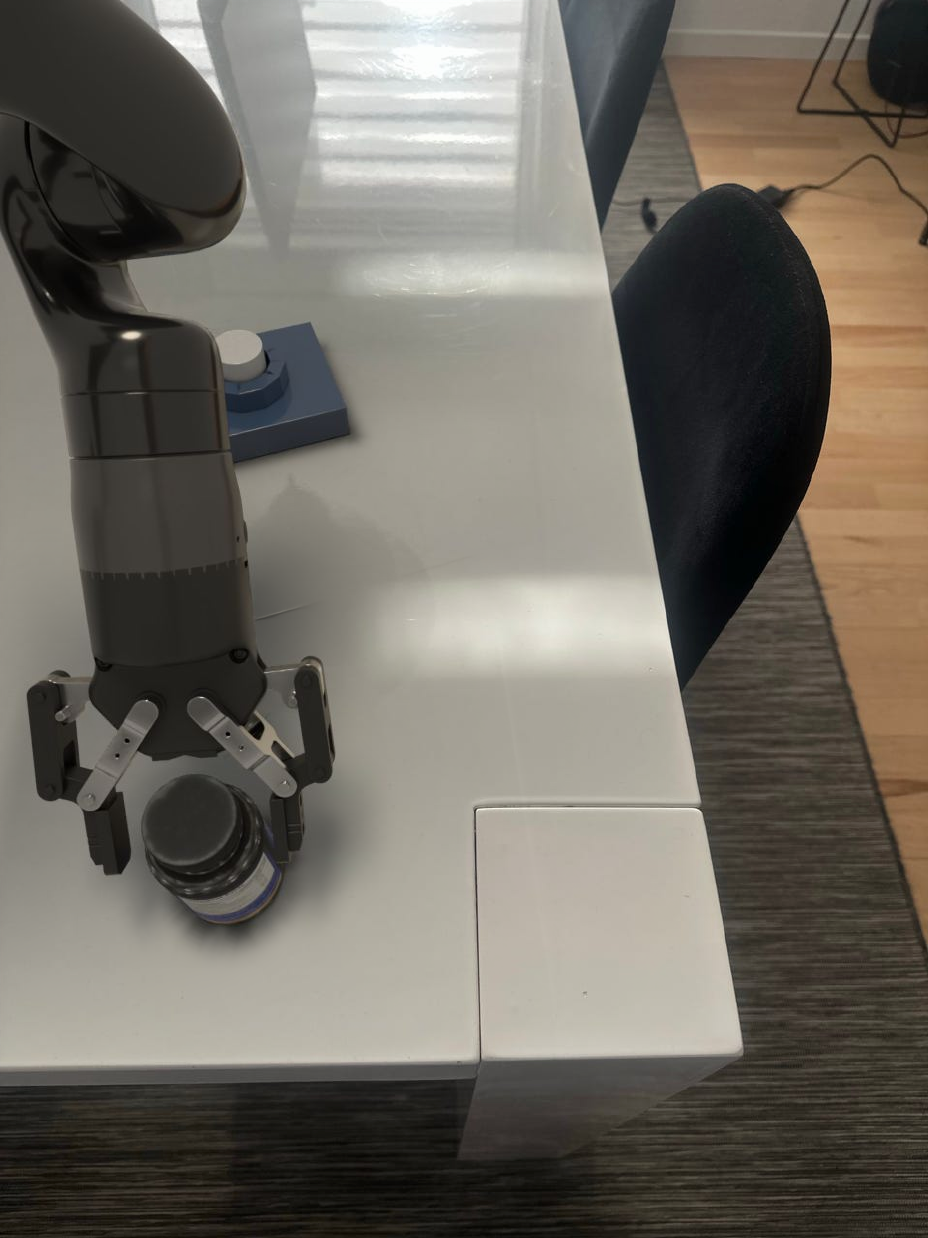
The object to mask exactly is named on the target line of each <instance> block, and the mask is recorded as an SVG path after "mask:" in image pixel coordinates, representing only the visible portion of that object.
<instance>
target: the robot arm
mask: <svg viewBox="0 0 928 1238" xmlns="http://www.w3.org/2000/svg"><path fill="white" fill-rule="evenodd" d="M241 145H242V144H241V142H240V139H239V137H238V134H237V131H236V130H235V127H234V125H233V123H232V121H231V118H230V117H229V114H228V112H227V111H226V109H225V107H224V105H223V104H222V103H221V101H220V99H219V98H218V96H217V94H216V93H215V92H214V90H213V89H212V87H211V85H209V83H208V82H207V81H206V79H205V78H204V76H202V75H201V73H199V71H198V70H197V69H196V67H195V66H193V64H192V63H191V62H190V61H189V60H188V59H187V58H186V57H185V56H184V55H183V54H182V53H181V52H180V51H179V50H178V49H177V48H176V47H174V45H173V44H171V43H170V42H169V41H168V40H167V38H165V37H164V36H163V35H161V34H160V33H159V32H158V31H157V30H156V29H155V28H153V27H152V26H151V24H149V23H148V22H147V21H145V20H144V19H143V18H142V17H141V16H139V15H138V14H137V13H136V12H135V11H134V10H132V8H130V6H128V5H127V4H125V3H124V2H123V1H122V0H0V237H1V238H2V242H3V244H4V246H5V249H6V251H7V254H8V256H9V258H10V260H11V263H12V265H13V268H14V270H15V272H16V274H17V277H18V279H19V282H20V284H21V286H22V289H23V291H24V294H25V296H26V299H27V302H28V304H29V306H30V309H31V311H32V314H33V316H34V318H35V321H36V323H37V325H38V327H39V329H40V332H41V334H42V335H43V338H44V340H45V343H46V345H47V348H48V350H49V352H50V354H51V357H52V360H53V361H54V365H55V369H56V373H57V382H58V391H59V396H60V404H61V411H62V418H63V424H64V431H65V437H66V445H67V451H68V456H69V457H70V460H69V469H70V470H69V471H70V512H71V522H72V527H73V534H74V542H75V547H76V548H75V549H76V554H77V563H78V568H79V574H80V582H81V586H82V587H81V588H82V596H83V602H84V607H85V616H86V621H87V628H88V629H87V630H88V635H89V643H90V648H91V654H92V658H93V661H94V671H93V674H92V676H71V675H70V673H68V672H66V670H62V669H54V670H53V671H50V673H48V674H46V676H44V677H42V678H41V679H40V680H38V681H37V682H36V683H34V684H33V685H31V687H29V689H28V690H27V692H26V705H27V713H28V714H27V715H28V720H29V721H28V722H29V730H30V731H29V732H30V741H31V750H32V758H33V768H34V778H35V786H36V787H35V788H36V793H37V795H38V797H39V798H40V799H42V800H43V801H45V802H55V801H58V800H63V801H68V802H71V803H74V804H76V805H77V806H78V807H79V808H80V809H81V811H82V814H83V820H84V826H85V827H84V828H85V831H86V838H87V845H88V852H89V858H90V859H91V860H92V862H93V864H95V866H102V869H103V874H104V875H105V876H119V875H122V874H123V872H124V870H125V869H126V867H127V866H128V864H129V862H130V861H131V857H132V847H131V846H132V845H131V837H130V832H129V824H128V819H127V811H126V805H125V797H124V791H117V788H116V787H117V785H118V784H119V782H120V780H121V779H122V778H123V776H124V774H125V773H126V771H127V770H128V768H129V767H130V765H131V764H132V762H133V761H134V759H135V758H136V756H137V755H138V753H140V754H142V755H144V756H147V757H150V758H151V761H152V762H165V761H171V760H175V759H177V758H180V757H183V756H186V757H193V758H199V759H208V758H210V759H211V758H218V756H219V755H220V753H222V752H225V751H227V752H228V753H229V755H231V756H232V757H233V758H234V760H236V761H237V762H238V763H239V764H240V765H241V766H242V767H243V769H245V770H246V771H252V772H253V773H254V774H256V776H257V777H258V778H259V779H260V780H261V781H262V782H263V783H264V784H265V785H266V786H267V787H269V789H270V790H271V794H270V798H269V800H268V801H269V811H270V820H271V832H272V834H273V841H274V851H275V860H276V863H283V864H285V863H291V861H292V857H293V853H294V852H299V851H300V850H301V847H302V845H303V842H304V838H305V832H306V821H305V809H304V797H303V789H304V788H306V787H308V786H310V785H313V784H324V783H327V782H328V781H330V779H331V778H332V775H333V773H334V772H333V771H334V767H333V765H334V762H335V759H336V755H337V754H336V745H335V739H334V733H333V732H334V731H333V725H332V719H331V718H332V717H331V711H330V704H329V703H330V702H329V696H328V690H327V682H326V676H325V670H324V664H323V661H322V660H321V659H320V658H319V657H317V656H315V655H307V656H304V658H302V659H301V661H300V662H299V663H291V664H290V663H289V664H288V663H287V664H280V665H272V666H267V664H266V663H265V662H264V660H263V658H262V657H261V655H260V653H259V651H258V646H257V637H256V627H255V618H254V617H255V616H254V608H253V598H252V597H253V596H252V590H251V579H250V569H249V557H248V547H247V544H248V542H249V536H248V526H247V521H246V520H245V518H244V509H243V504H242V503H243V501H242V494H241V490H240V486H239V481H238V479H237V474H236V470H235V465H234V463H233V459H232V453H231V452H230V451H227V450H229V449H230V448H231V445H230V436H229V426H228V416H227V406H226V397H225V393H224V392H225V385H224V375H223V367H222V360H221V356H220V351H219V347H218V344H217V342H216V340H215V338H216V337H215V336H214V335H213V333H212V332H211V331H210V330H209V329H208V328H207V327H205V326H204V325H203V324H201V323H199V322H197V321H194V320H193V319H188V318H184V317H181V316H176V315H171V314H166V313H164V314H163V313H159V312H152V311H148V309H147V308H146V306H145V305H144V302H143V301H142V300H141V299H142V298H141V297H140V295H139V292H138V291H137V289H136V287H135V285H134V282H133V280H132V277H131V275H130V272H129V267H128V261H132V260H141V259H152V258H159V257H169V256H175V255H176V256H179V255H185V254H193V253H197V252H200V251H204V250H207V249H209V248H212V247H214V246H216V245H217V244H219V243H221V242H223V240H225V239H226V238H227V237H228V236H229V235H230V234H231V233H232V232H233V230H234V229H235V227H236V226H237V224H238V223H239V221H240V219H241V217H242V215H243V211H244V208H245V202H246V198H247V191H248V190H247V189H248V188H247V186H248V183H247V180H248V179H247V170H246V168H247V167H246V162H245V156H244V153H243V149H242V146H241ZM268 690H271V691H274V692H277V693H278V694H279V696H280V697H281V699H282V702H283V704H284V705H285V706H286V707H287V708H289V709H292V710H296V709H297V711H298V718H299V724H300V731H301V738H302V744H303V751H304V752H302V753H300V754H298V755H295V754H294V753H293V752H292V750H291V749H289V747H287V746H286V745H285V743H284V742H283V741H282V740H281V739H280V738H279V737H278V735H277V731H276V730H275V728H274V727H273V726H272V725H271V724H270V723H269V722H268V721H267V720H266V719H265V718H264V716H262V714H261V713H259V712H258V711H257V709H258V707H259V705H260V704H261V703H262V701H263V699H264V697H265V696H266V694H267V691H268ZM88 701H90V703H91V705H92V707H94V708H95V710H96V711H97V712H99V714H100V715H101V716H102V717H103V718H104V719H105V720H106V721H107V722H108V723H109V724H110V725H111V726H112V727H113V728H114V729H115V730H116V731H117V732H116V733H115V735H114V736H113V737H112V738H111V741H110V742H109V744H108V746H107V747H106V748H105V750H104V752H103V753H102V755H101V756H100V758H99V759H98V761H97V762H96V764H95V766H94V769H92V768H88V767H84V766H81V760H80V750H79V738H78V729H77V728H78V727H77V719H78V718H79V717H80V716H81V715H82V714H83V713H84V712H85V710H86V702H88Z"/></svg>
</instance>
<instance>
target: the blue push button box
mask: <svg viewBox="0 0 928 1238" xmlns="http://www.w3.org/2000/svg"><path fill="white" fill-rule="evenodd" d="M255 334H256V335H257V336H258V337H259V338H260V339H261V341H262V345H263V349H264V354H265V359H266V363H267V366H266V370H265V372H264V373H263V374H262V375H261V376H260V377H258V378H257V379H255V380H252V381H248V382H243V383H232V382H226V381H224V385H225V392H224V393H225V397H226V406H227V416H228V426H229V436H230V445H231V448H230V449H229V450H227V451H230V452H231V453H232V459H233V464H234V463H238V462H242V461H246V460H249V459H254V458H259V457H262V456H265V455H271V454H274V453H278V452H282V451H285V450H290V449H294V448H298V447H302V446H306V445H309V444H315V443H319V442H321V441H325V440H326V441H327V440H330V439H334V438H337V437H342V436H346V435H350V423H349V414H348V407H347V405H346V402H345V400H344V397H343V395H342V392H341V390H340V388H339V386H338V383H337V381H336V379H335V376H334V374H333V372H332V369H331V366H330V365H329V362H328V360H327V358H326V355H325V352H324V350H323V348H322V345H321V343H320V341H319V339H318V336H317V334H316V331H315V329H314V327H313V324H312V322H311V321H307V322H303V323H299V324H293V325H289V326H285V327H280V328H275V329H272V330H266V331H262V332H257V333H255Z"/></svg>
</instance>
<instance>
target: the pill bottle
mask: <svg viewBox="0 0 928 1238" xmlns="http://www.w3.org/2000/svg"><path fill="white" fill-rule="evenodd" d="M140 827H141V828H140V833H141V837H142V841H143V844H144V853H145V855H144V856H145V860H146V862H147V863H146V864H147V866H148V868H149V871H150V873H151V874H152V875H153V877H154V879H155V880H156V881H157V882H158V883H159V884H160V885H161V886H162V887H163V888H164V889H166V890H167V891H168V892H169V893H170V894H172V895H173V897H175V898H176V899H177V900H179V902H181V903H182V904H183V905H184V906H185V907H187V909H189V910H190V911H191V912H192V913H194V914H195V916H197V917H198V918H200V919H201V920H203V921H206V922H208V923H211V924H214V925H221V926H225V925H226V926H227V925H228V926H230V925H238V924H241V923H242V924H243V923H244V922H247V921H250V920H252V919H254V918H256V917H257V916H258V915H259V914H261V913H262V912H263V911H264V910H265V909H266V908H268V907H269V906H270V905H271V903H272V902H273V901H274V900H275V898H276V896H277V894H278V891H279V889H280V887H281V885H282V878H283V876H284V864H285V863H276V860H275V851H274V841H273V831H272V830H271V829H270V828H269V827H270V826H268V823H267V822H266V819H264V817H263V815H262V813H261V811H260V809H259V808H258V806H257V804H256V803H255V801H254V800H253V799H252V797H251V796H250V795H249V794H248V793H247V792H245V791H243V790H242V789H241V788H239V787H237V786H235V785H233V784H230V783H226V782H223V781H221V780H220V779H219V778H216V777H214V776H211V775H208V774H201V773H190V774H185V775H181V776H178V777H175V778H173V779H171V780H169V781H168V782H166V783H165V784H163V785H162V786H160V788H158V789H157V790H156V791H155V792H154V793H153V795H152V796H151V797H150V799H149V800H148V802H147V803H146V806H145V808H144V810H143V814H142V815H141V823H140Z"/></svg>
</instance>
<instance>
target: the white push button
mask: <svg viewBox="0 0 928 1238" xmlns="http://www.w3.org/2000/svg"><path fill="white" fill-rule="evenodd" d="M256 334H257V333H255V332H253V331H250V330H246V329H232V330H228V331H227V330H226V331H224V332H222V333H220V334H219V335H217V336H216V337H214V338H215V340H216V342H217V344H218V347H219V351H220V356H221V360H222V367H223V375H224V381H226V382H232V383H243V382H248V381H252V380H255V379H257V378H258V377H260V376H261V375H262V374H263V373H264V372H265V370H266V366H267V363H266V359H265V354H264V349H263V345H262V341H261V339H260V338H259V337H258V336H257V335H256Z"/></svg>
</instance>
